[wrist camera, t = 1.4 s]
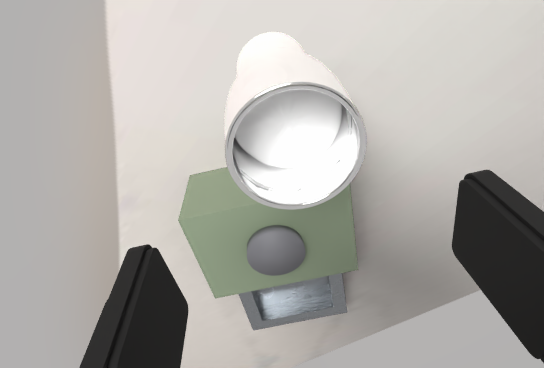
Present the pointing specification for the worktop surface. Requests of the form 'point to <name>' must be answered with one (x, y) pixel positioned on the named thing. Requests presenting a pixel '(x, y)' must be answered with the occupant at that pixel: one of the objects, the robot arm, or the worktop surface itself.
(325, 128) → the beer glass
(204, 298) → the worktop surface
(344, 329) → the worktop surface
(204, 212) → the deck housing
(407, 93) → the worktop surface
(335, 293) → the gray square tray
